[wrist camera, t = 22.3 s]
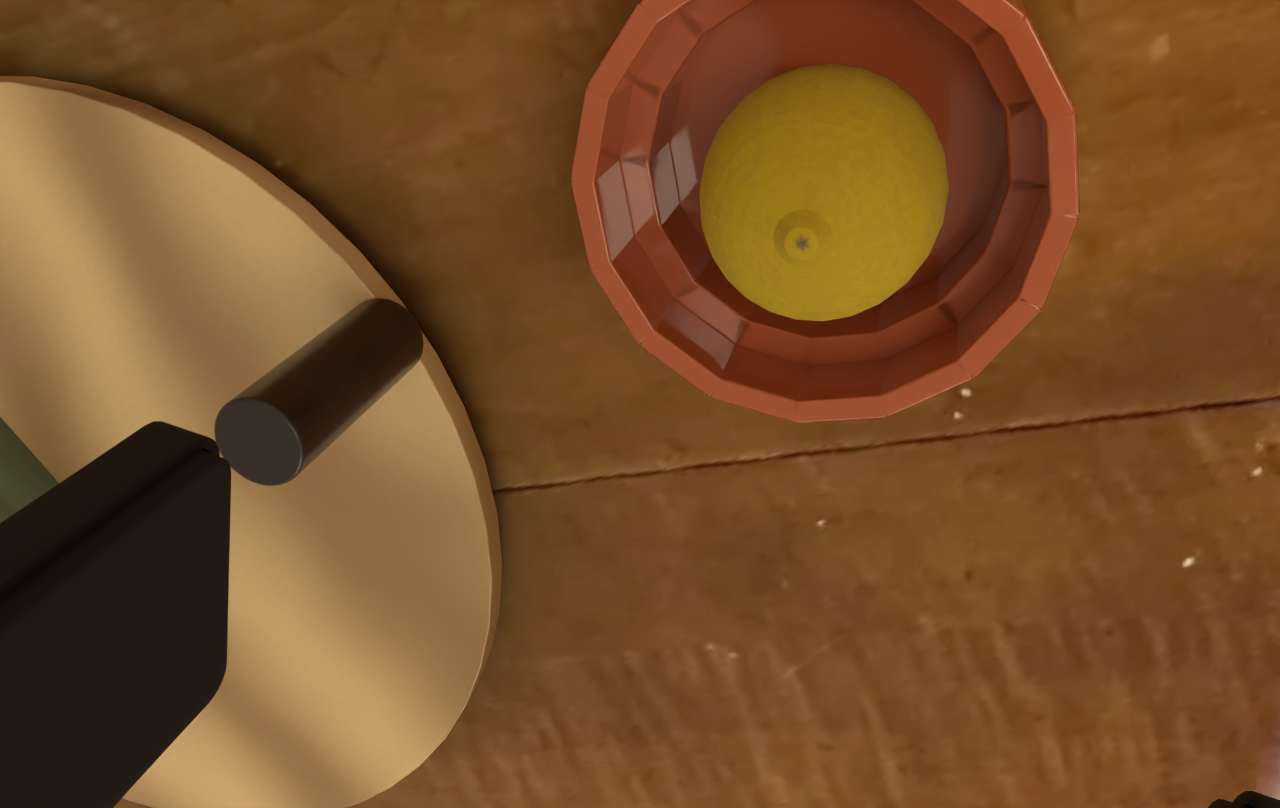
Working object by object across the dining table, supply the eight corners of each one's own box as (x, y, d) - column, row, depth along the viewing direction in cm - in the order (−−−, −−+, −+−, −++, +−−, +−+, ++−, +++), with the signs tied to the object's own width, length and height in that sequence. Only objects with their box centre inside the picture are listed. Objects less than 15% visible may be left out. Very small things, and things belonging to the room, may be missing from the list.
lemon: (966, 230, 29) (968, 348, 22) (761, 271, 31) (703, 391, 24) (928, 14, 27) (916, 68, 20) (710, 71, 29) (631, 139, 22)
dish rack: (88, -155, 30) (-176, -157, 23) (688, 652, 37) (624, 840, 30) (-356, 350, 43) (-609, 446, 36) (146, 878, 50) (13, 1045, 43)
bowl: (1133, -25, 26) (1167, -1, 22) (973, 391, 31) (975, 477, 27) (674, -131, 28) (621, -128, 23) (596, 282, 33) (540, 347, 29)
